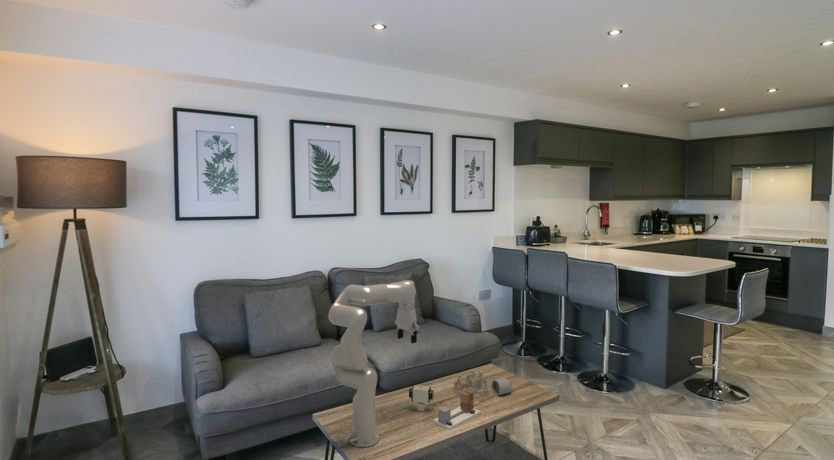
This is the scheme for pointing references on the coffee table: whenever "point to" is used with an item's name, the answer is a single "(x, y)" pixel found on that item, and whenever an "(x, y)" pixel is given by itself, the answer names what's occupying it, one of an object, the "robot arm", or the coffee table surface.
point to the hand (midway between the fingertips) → (407, 340)
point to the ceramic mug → (501, 386)
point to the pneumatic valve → (421, 396)
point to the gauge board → (454, 417)
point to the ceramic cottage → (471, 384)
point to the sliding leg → (467, 400)
